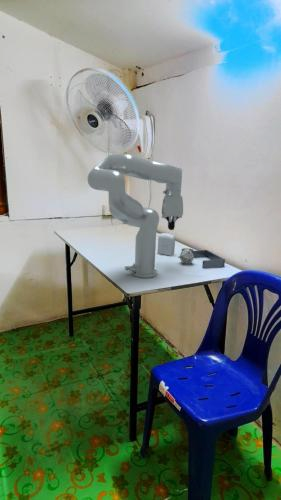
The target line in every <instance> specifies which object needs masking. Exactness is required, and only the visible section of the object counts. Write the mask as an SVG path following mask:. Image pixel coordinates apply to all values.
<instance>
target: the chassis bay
mask: <svg viewBox="0 0 281 500" xmlns="http://www.w3.org/2000/svg"><path fill="white" fill-rule="evenodd" d="M191 252H192V253H193V254H194V258H193V259H199V257H201V258H206V257H207V259H206V260H202V265H201V267H202V269H203V270H204V269H211V268H212V269H213V268H214V269H215V268H224V267H225V263H226V259H225V258H223V257H221V256H219V255H218V254H216V253H214V252H212V251H210V250H207V249H202V250H199V249H198V250H194V251H191ZM195 255H196V256H195Z"/></svg>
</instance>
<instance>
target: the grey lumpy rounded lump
mask: <svg viewBox="0 0 281 500" xmlns="http://www.w3.org/2000/svg"><path fill="white" fill-rule="evenodd" d="M183 249H184V248H181V252H180V254H179V256H177V258H179V260H180V261H181V263H182V265H184V264H190V265H193V263H192V262H193V260H194V259H195V258H194V254H193V253H192V252H191V249H192V248H189V249H190V250H183ZM195 256H196V255H195Z"/></svg>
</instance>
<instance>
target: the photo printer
mask: <svg viewBox="0 0 281 500" xmlns="http://www.w3.org/2000/svg"><path fill="white" fill-rule="evenodd" d="M175 247H176V236H175V235H173V234H172V233H166V232H165V233H164V232H162V233H159V234H158V237H157V254H159V255H165V256H171V257H173V256H175Z"/></svg>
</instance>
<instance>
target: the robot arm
mask: <svg viewBox="0 0 281 500" xmlns="http://www.w3.org/2000/svg"><path fill="white" fill-rule="evenodd" d="M125 176H128V177H133V178H136V179H140V180H144V181H152V182H153V181H154V182H155V183H159V184H165V190H163V191H162V194H164V196H163V199H162V206H161V218H162V219H165V220H166V221H167V228H168V229H169V231H174V229H175V226H176V222H177V221H178V220H179V219H181V218H183V215H184V199H183V195H182V183H183V182H182V178H183V169H182V168H181V167H177V166H174V165H170V164H166V163H163V162H158V161H154V160H151V159H150V160H149V159H146V158H143V157H141V156H137V155H134V154H129V153H112V154H110V155H108V156H107V157H105V158H104V159H103V160H102V161H100V162H98V164H97V165H94V167H93V168H91V170H90V171H89V173H88V176H87V183H88V186H89V187H90V188H91V189H93V190H96V191H103V192H108V206H109V207H108V208H109V210H108V211H109V213H110V214H111V216H112V217H113V218H114V219H116V220H118V221H120V222H122V223H124V224H125V225H128V226H131V227H135V228H139V230H138V231H137V233H136V235H135V251H134V253H135V254H134V263H133V264H132V265H128V266H124V271H128V272H130V273H131V275H132V276H135V277H137V278H142V279H143V278H144V279H146V278H147V279H148V278H149V279H150V278H154V277H157V276H158V275H159V274H158V270H157V269H155V267H156V266H155V265H156V264H155V263H156V247H157V246H156V245H157V232H158V226H159V223H160V216H159V213H158V212H157V211H156V210H155V209H153V208H149V207H143V205H142V203H141V202H139V201H138V200H137V199H135V198H133V197H132V196H131V195H129V194H127V192H126V180H125Z"/></svg>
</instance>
